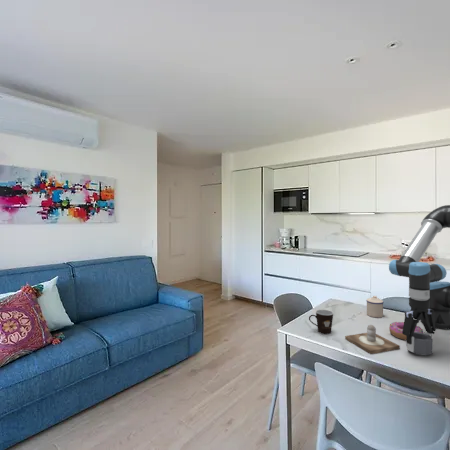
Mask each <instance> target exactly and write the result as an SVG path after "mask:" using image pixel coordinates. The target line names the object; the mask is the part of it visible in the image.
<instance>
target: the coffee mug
mask: <svg viewBox="0 0 450 450" xmlns="http://www.w3.org/2000/svg"><path fill="white" fill-rule="evenodd" d="M311 317H315V319H316V323H315V322H313V321H312V320H311ZM333 317H334V312H333V310H329V309H317V310H315V314H311V315H309V317H308V320H309V322H311V323H312V324H313V325H314V326H316V328H317V332H318V333H320V334H323V335H329V334H331V333H332V329H333V328H332V327H333V320H334V318H333Z"/></svg>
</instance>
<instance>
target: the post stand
mask: <svg viewBox="0 0 450 450" xmlns="http://www.w3.org/2000/svg"><path fill="white" fill-rule="evenodd" d="M344 337H345V339H344V340H346V341H348V342H349V343H351V344H352V345H355V346H356V347H358V348H359V349H361V350H363V351H364V352H366V353H367V354H370V355H374V354H379V353H385V352H389V351H390V352H391V351H396V350H400V349H401V345H400V344H397V343H396V342H393V341H392V340H389V339H387V338H385V337H384V336H382V335H379V334H377V329H376V326H375V325H373V324H369V325H367V328H366V332H362V333H356V334H349V335H345V336H344Z"/></svg>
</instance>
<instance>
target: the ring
mask: <svg viewBox="0 0 450 450" xmlns="http://www.w3.org/2000/svg"><path fill="white" fill-rule="evenodd" d="M413 337H414V352H413V353H414V354H418V355H423V356H427V355H429V356H430V355H432V354H433V353H434V352H433V349H434V347H433V346H434V345H433V343H434V342H433V341H434V340H433V336H432V337H431V336H429V335H427V334H424V332H423V333H420V332H414V334H413Z"/></svg>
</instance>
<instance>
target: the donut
mask: <svg viewBox="0 0 450 450" xmlns="http://www.w3.org/2000/svg"><path fill="white" fill-rule="evenodd" d="M403 326H404V322H403V321H395V322H391V323H389V333H390V334H391V335H392V336H393V337H395V338H398V339H401V340H403V341H407V337H406V335H404V334H402V331H403ZM414 332H420V333H424V329H422V327H421V326H418V325H417V326H416V328H415V331H414Z"/></svg>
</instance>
